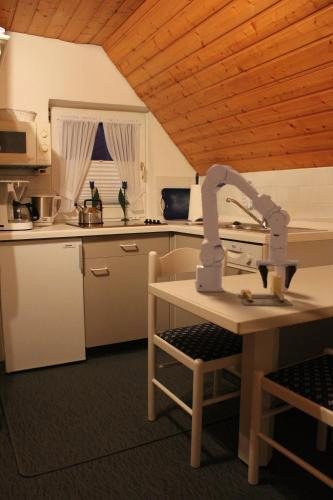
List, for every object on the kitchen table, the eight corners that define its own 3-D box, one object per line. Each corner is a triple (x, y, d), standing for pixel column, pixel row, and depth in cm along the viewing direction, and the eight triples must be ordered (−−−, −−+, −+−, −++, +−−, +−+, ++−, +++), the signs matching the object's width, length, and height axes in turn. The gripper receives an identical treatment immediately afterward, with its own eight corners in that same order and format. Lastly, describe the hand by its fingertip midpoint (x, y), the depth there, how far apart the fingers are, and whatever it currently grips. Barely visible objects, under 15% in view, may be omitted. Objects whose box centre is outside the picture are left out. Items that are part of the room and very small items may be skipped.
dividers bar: (242, 303, 133) (242, 296, 132) (237, 296, 141) (237, 289, 141) (289, 303, 133) (290, 296, 132) (281, 296, 142) (281, 289, 141)
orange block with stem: (277, 301, 133) (278, 281, 132) (270, 294, 142) (271, 275, 141) (286, 301, 133) (287, 281, 132) (277, 294, 142) (278, 275, 141)
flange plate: (244, 305, 130) (244, 303, 130) (240, 300, 136) (240, 298, 136) (291, 305, 131) (292, 303, 130) (286, 301, 136) (286, 299, 136)
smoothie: (278, 293, 146) (280, 253, 143) (269, 289, 152) (271, 251, 150) (295, 292, 147) (297, 253, 145) (285, 288, 153) (287, 250, 151)
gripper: (258, 249, 133) (257, 290, 135) (304, 249, 134) (301, 290, 136) (253, 246, 140) (252, 285, 142) (296, 246, 141) (294, 285, 143)
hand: (275, 287), depth 139 cm, fingers open, 7 cm apart
